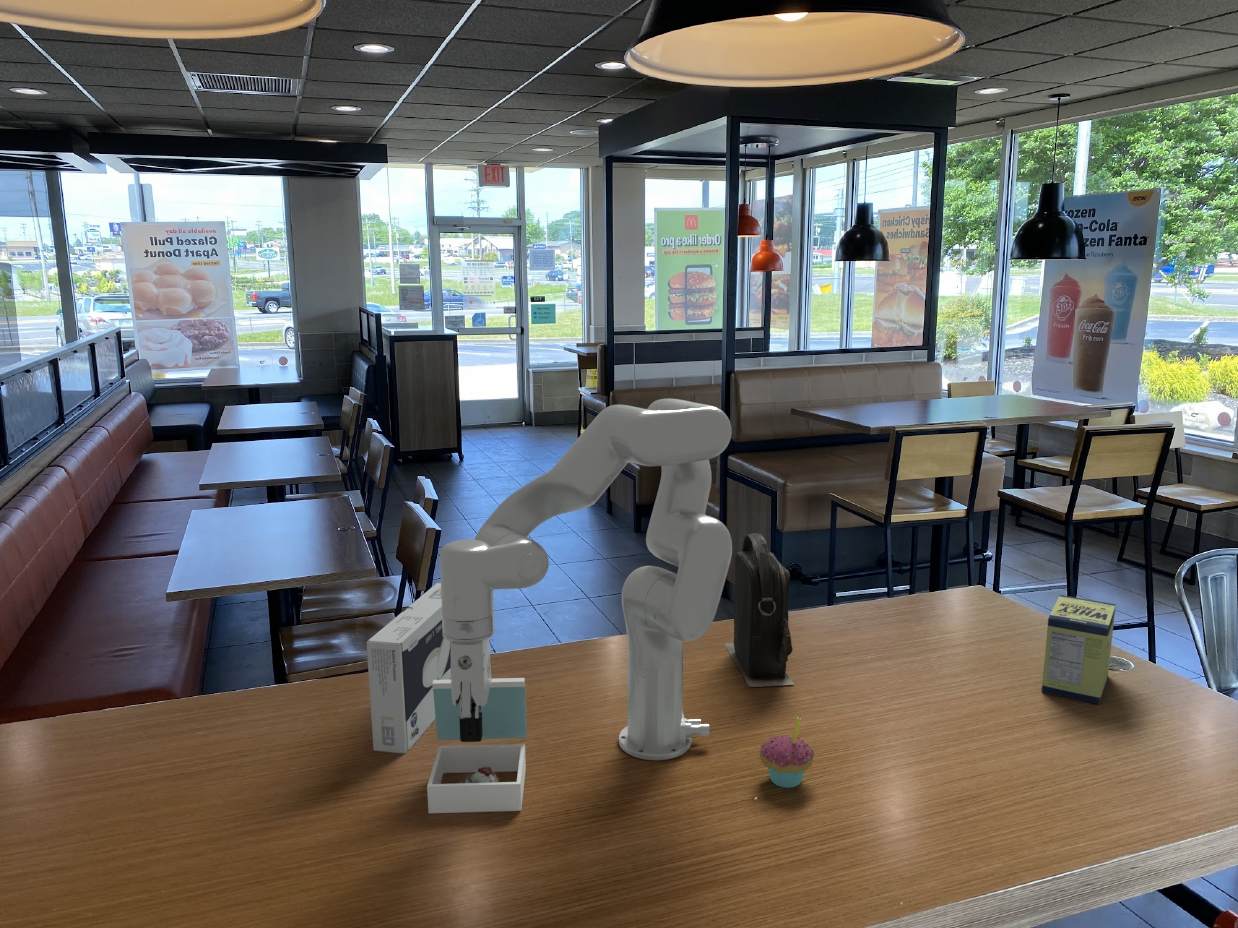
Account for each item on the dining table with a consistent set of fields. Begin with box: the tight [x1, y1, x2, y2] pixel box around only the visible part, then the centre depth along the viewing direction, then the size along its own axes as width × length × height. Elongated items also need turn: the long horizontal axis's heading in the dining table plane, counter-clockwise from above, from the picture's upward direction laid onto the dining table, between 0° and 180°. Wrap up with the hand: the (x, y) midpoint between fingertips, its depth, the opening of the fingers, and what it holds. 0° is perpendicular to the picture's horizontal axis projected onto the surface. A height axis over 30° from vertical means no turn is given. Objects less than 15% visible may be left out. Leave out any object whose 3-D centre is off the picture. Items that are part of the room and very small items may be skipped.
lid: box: [432, 677, 528, 741], centre depth 148 cm, size 15×11×1 cm
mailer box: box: [426, 743, 527, 814], centre depth 145 cm, size 14×12×4 cm
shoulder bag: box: [723, 532, 795, 688], centre depth 189 cm, size 23×9×28 cm, turn 6°
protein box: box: [1041, 594, 1117, 706], centre depth 180 cm, size 10×16×16 cm
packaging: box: [366, 582, 451, 755], centre depth 169 cm, size 30×6×20 cm, turn 168°
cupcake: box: [758, 713, 815, 789], centre depth 146 cm, size 9×8×12 cm
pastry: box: [458, 767, 500, 783], centre depth 143 cm, size 8×8×5 cm
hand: (471, 738), depth 138 cm, fingers closed
